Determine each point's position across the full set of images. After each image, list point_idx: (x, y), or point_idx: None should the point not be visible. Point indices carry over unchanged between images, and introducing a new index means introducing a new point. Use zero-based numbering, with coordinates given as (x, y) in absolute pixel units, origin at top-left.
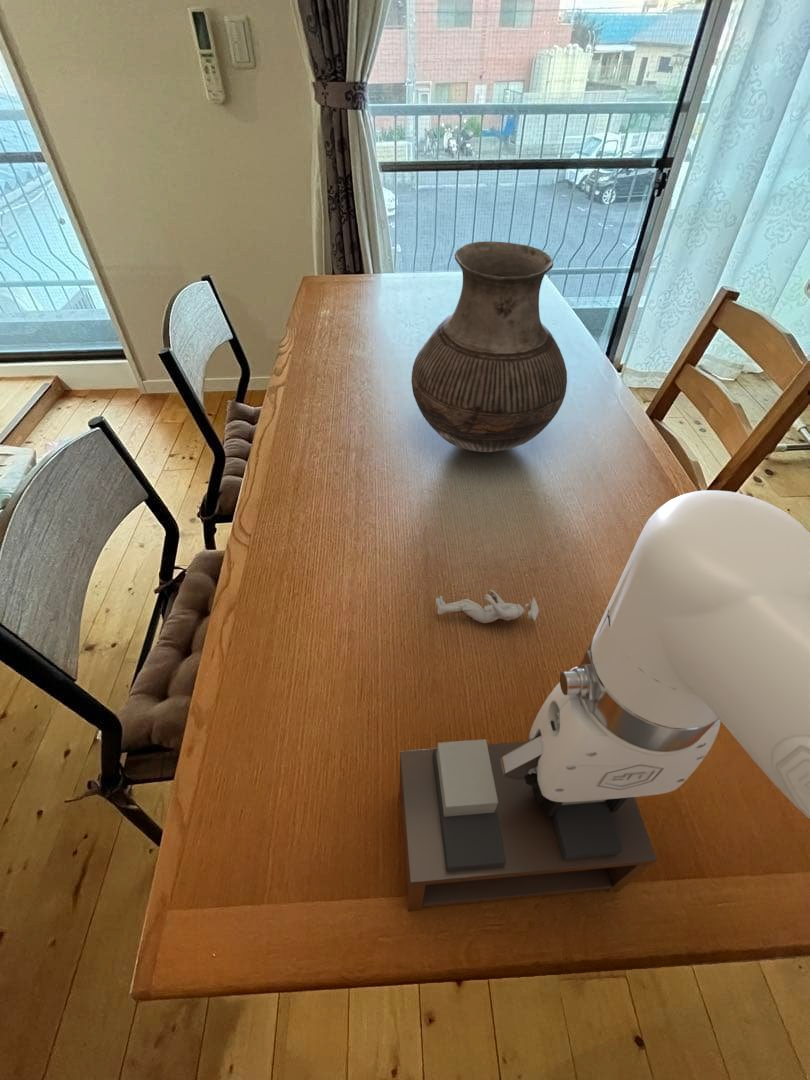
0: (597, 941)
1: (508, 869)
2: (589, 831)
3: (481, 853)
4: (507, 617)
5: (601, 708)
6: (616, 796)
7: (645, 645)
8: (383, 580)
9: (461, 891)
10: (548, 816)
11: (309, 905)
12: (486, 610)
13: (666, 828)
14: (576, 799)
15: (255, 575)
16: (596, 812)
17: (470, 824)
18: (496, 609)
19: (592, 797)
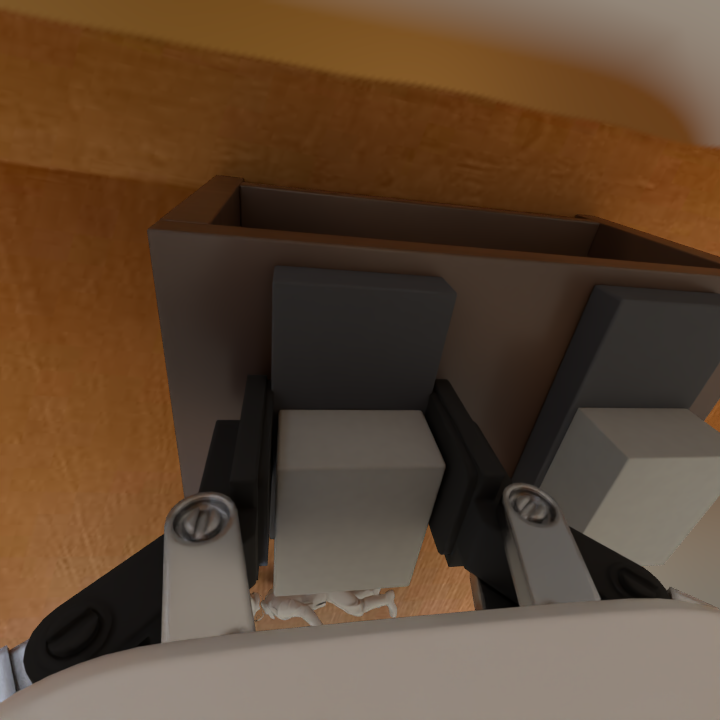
0: (291, 92)
1: (586, 275)
2: (360, 343)
3: (665, 327)
4: (297, 603)
5: None
6: (439, 671)
7: None
8: (439, 610)
9: (530, 232)
10: (449, 385)
11: (716, 251)
12: (323, 603)
13: (77, 269)
14: (665, 647)
15: None
16: (316, 385)
17: (645, 389)
18: (318, 623)
19: (600, 678)
